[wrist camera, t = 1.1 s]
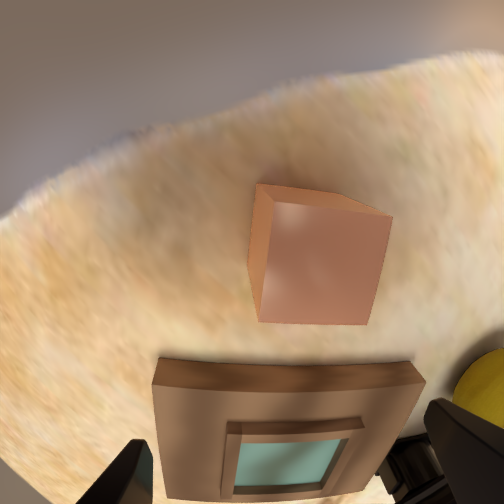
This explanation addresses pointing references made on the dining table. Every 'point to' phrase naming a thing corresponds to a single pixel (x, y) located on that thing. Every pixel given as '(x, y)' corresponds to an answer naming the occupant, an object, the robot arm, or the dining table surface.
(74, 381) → the dining table surface
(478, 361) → the lemon
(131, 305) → the dining table surface
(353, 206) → the terracotta block
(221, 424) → the brown flat frame
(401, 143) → the dining table surface
